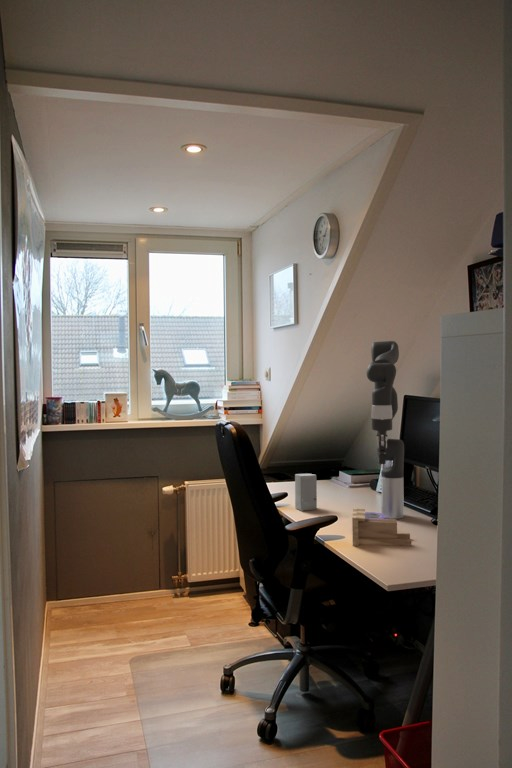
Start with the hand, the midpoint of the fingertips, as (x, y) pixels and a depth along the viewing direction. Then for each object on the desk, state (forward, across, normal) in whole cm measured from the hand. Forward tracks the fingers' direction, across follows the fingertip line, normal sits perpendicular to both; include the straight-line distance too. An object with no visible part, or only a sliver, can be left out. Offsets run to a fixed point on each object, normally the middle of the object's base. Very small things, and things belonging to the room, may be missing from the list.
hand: (382, 463), depth 233 cm
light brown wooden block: (+29, 0, -2) cm, 29 cm away
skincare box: (+29, -47, -33) cm, 64 cm away
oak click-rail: (+29, 0, 0) cm, 29 cm away
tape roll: (+29, -19, -4) cm, 35 cm away
